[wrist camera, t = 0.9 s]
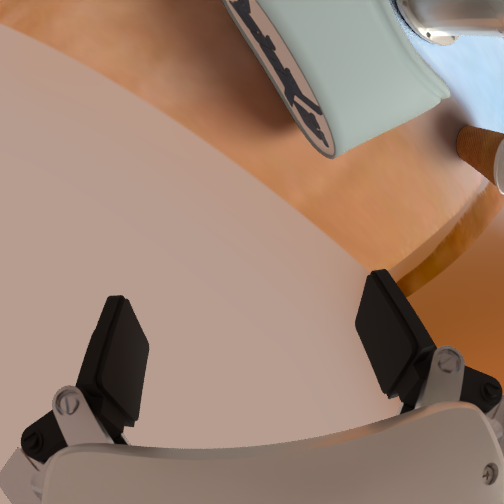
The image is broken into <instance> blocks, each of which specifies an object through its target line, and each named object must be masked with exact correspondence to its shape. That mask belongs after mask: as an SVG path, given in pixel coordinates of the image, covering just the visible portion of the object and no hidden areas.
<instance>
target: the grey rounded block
mask: <svg viewBox="0 0 504 504" xmlns="http://www.w3.org/2000/svg"><path fill="white" fill-rule="evenodd" d="M222 2H223V4H224V6H225V8H226V9H227V11H228V13H229V15H230V16H231V18H232V20H233V21H234V23H235V25H236V26H237V28H238V29H239V31H240V32H241V34H242V35H243V37H244V38H245V40H246V42H247V43H248V45H249V46H250V48H251V49H252V51H253V53H254V54H255V56H256V57H257V59H258V60H259V62H260V64H261V65H262V67H263V69H264V70H265V72H266V73H267V75H268V77H269V78H270V80H271V82H272V83H273V85H274V87H275V88H276V90H277V92H278V93H279V95H280V97H281V98H282V100H283V102H284V104H285V105H286V107H287V109H288V110H289V112H290V114H291V115H292V117H293V119H294V120H295V122H296V123H297V125H298V127H299V128H300V130H301V131H302V133H303V134H304V135H305V137H306V138H307V139H308V141H309V142H310V143H311V144H312V146H313V147H314V148H315V149H316V150H317V151H318V152H319V153H321V154H322V155H323V156H325V157H327V158H329V159H334V158H336V157H338V156H339V155H341V154H343V153H345V152H347V151H349V150H351V149H352V148H354V147H356V146H358V145H360V144H362V143H364V142H366V141H368V140H370V139H372V138H374V137H376V136H378V135H380V134H382V133H384V132H387V131H389V130H391V129H393V128H395V127H397V126H399V125H401V124H403V123H405V122H407V121H409V120H411V119H413V118H415V117H417V116H419V115H421V114H423V113H425V112H426V111H428V110H430V109H432V108H433V107H435V106H436V105H437V104H439V103H440V102H441V100H440V99H446V98H448V97H450V96H451V94H450V90H449V88H448V86H447V85H446V83H445V82H444V81H443V79H442V78H441V77H440V76H439V75H438V74H437V73H436V72H435V71H434V70H433V69H432V68H431V67H430V66H429V65H428V64H427V63H426V62H425V61H424V60H423V59H422V58H421V56H420V55H419V54H418V53H417V51H416V50H415V49H414V47H413V46H412V44H411V43H410V41H409V39H408V38H407V36H406V34H405V32H404V31H403V29H402V27H401V25H400V24H399V22H398V20H397V18H396V15H395V13H394V11H393V9H392V6H391V4H390V2H389V0H222Z"/></svg>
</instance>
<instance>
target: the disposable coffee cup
mask: <svg viewBox="0 0 504 504" xmlns="http://www.w3.org/2000/svg"><path fill="white" fill-rule="evenodd" d="M456 145H457V152H458V155H459V156H460V158H461V159H463V160H464V161H465V162H467V163H468V164H469V165H471V166H472V167H473V168H475V169H476V170H477V171H479V172H480V173H481V174H482V175H484V176H485V177H486V178H487V179H488V180H490V181H491V182H492V183H493V184H494V185H496V186H497V188H498V189H499V191H500V192H501V193H502V194H503V195H504V134H503V133H499V132H495V131H491V130H486V129H482V128H477V127H472V126H465V127H463V128H462V129H461V131H460V132H459V134H458V137H457V144H456Z"/></svg>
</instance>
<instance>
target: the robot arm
mask: <svg viewBox="0 0 504 504" xmlns="http://www.w3.org/2000/svg"><path fill="white" fill-rule="evenodd" d="M396 3H397V6H398V8H399V10H400V12H401V14H402V16H403V18H404V19H405V21H406V22H407V23H408V25H409V26H410V27H411V28H412V29H413V30H414V31H415V32H416V33H417V34H418V35H419V36H420V37H422V38H423V39H425V40H426V41H428V42H430V43H432V44H435V45H451V44H453V43H454V42H455V41H456V40H457V39H458V37H459V36H490V37H502V38H504V0H396ZM355 327H356V330H357V332H358V335H359V337H360V339H361V341H362V344H363V346H364V348H365V351H366V353H367V355H368V358H369V360H370V362H371V365H372V367H373V370H374V372H375V375H376V377H377V380H378V382H379V384H380V387H381V390H382V392H383V393H384V394H387V396H388V399H391V398H394V397H397V396H399V398H400V400H401V404H400V407H399V409H398V412H397V415H396V416H394V417H391V418H388V419H385V420H381V421H378V422H375V423H372V424H368V425H365V426H361V427H357V428H354V429H350V430H346V431H342V432H338V433H333V434H329V435H325V436H319V437H314V438H309V439H304V440H298V441H292V442H285V443H278V444H270V445H262V446H251V447H239V448H218V449H176V448H156V447H141V446H132V445H131V444H130V443H129V441H128V440H127V438H126V437H125V435H124V434H123V430H124V426H129V427H134V423H135V421H137V420H138V417H139V411H140V403H141V396H142V389H143V383H144V376H145V370H146V364H147V359H148V353H149V343H148V341H147V338H146V336H145V334H144V332H143V330H142V328H141V326H140V324H139V322H138V320H137V318H136V315H135V313H134V311H133V309H132V306H131V304H130V302H129V300H128V299H125V298H124V296H122V295H118V296H109V297H108V298H107V300H106V303H105V305H104V308H103V311H102V313H101V316H100V318H99V321H98V324H97V326H96V329H95V330H94V332H93V334H92V336H91V340H90V342H89V345H88V348H87V351H86V354H85V357H84V360H83V363H82V366H81V370H80V373H79V376H78V379H77V383H76V386H65V387H62V388H61V389H59V390H58V391H57V392H56V394H55V395H54V398H53V401H52V408H53V410H51V411H50V412H49V413H47V414H46V415H44V416H43V417H42V418H40V419H39V420H37V421H36V422H34V423H33V424H32V425H30V426H29V427H27V428H26V429H25V430H24V432H23V434H22V437H21V446H22V448H19V447H18V448H17V449H16V450H15V452H14V453H13V455H12V456H11V458H10V459H9V460H8V462H7V463H6V464H5V466H4V467H3V469H2V470H1V472H0V487H1V488H2V490H3V492H4V493H5V494H6V496H7V497H8V499H9V500H10V501H11V503H12V504H504V395H503V394H502V388H501V385H500V383H499V382H498V381H497V380H496V379H495V378H493V377H491V376H489V375H487V374H484V373H482V372H479V371H477V370H474V369H472V368H470V367H467V366H465V364H464V359H463V356H462V355H461V353H460V352H459V351H458V350H457V349H455V348H453V347H451V346H441V347H439V348H438V349H437V347H436V345H435V344H434V342H433V340H432V339H431V337H430V335H429V333H428V332H427V330H426V329H425V327H424V325H423V324H422V322H421V321H420V319H419V318H418V316H417V314H416V313H415V311H414V309H413V308H412V306H411V305H410V303H409V302H408V300H407V299H406V297H405V296H404V294H403V293H402V291H401V290H400V288H399V287H398V285H397V284H396V282H395V281H394V280H393V278H392V277H391V275H390V274H389V272H388V271H387V270H386V269H382V270H375V271H372V272H371V274H370V275H368V276H367V279H366V283H365V287H364V291H363V295H362V298H361V302H360V306H359V309H358V313H357V316H356V320H355Z"/></svg>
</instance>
